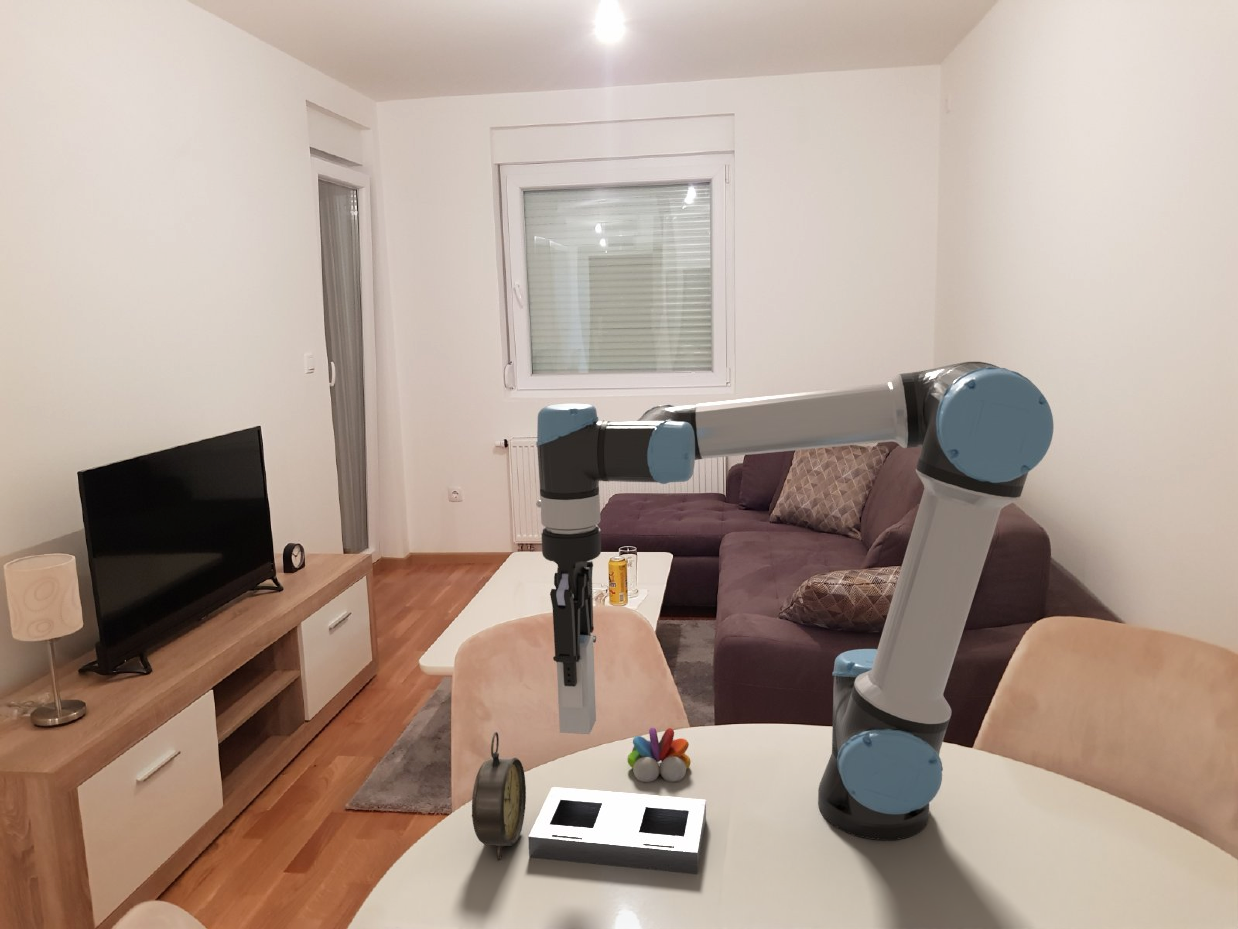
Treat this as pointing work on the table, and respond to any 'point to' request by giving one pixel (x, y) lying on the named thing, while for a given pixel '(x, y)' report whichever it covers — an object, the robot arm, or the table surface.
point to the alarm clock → (499, 800)
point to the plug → (586, 716)
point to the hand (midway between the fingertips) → (577, 697)
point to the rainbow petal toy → (659, 757)
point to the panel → (620, 830)
